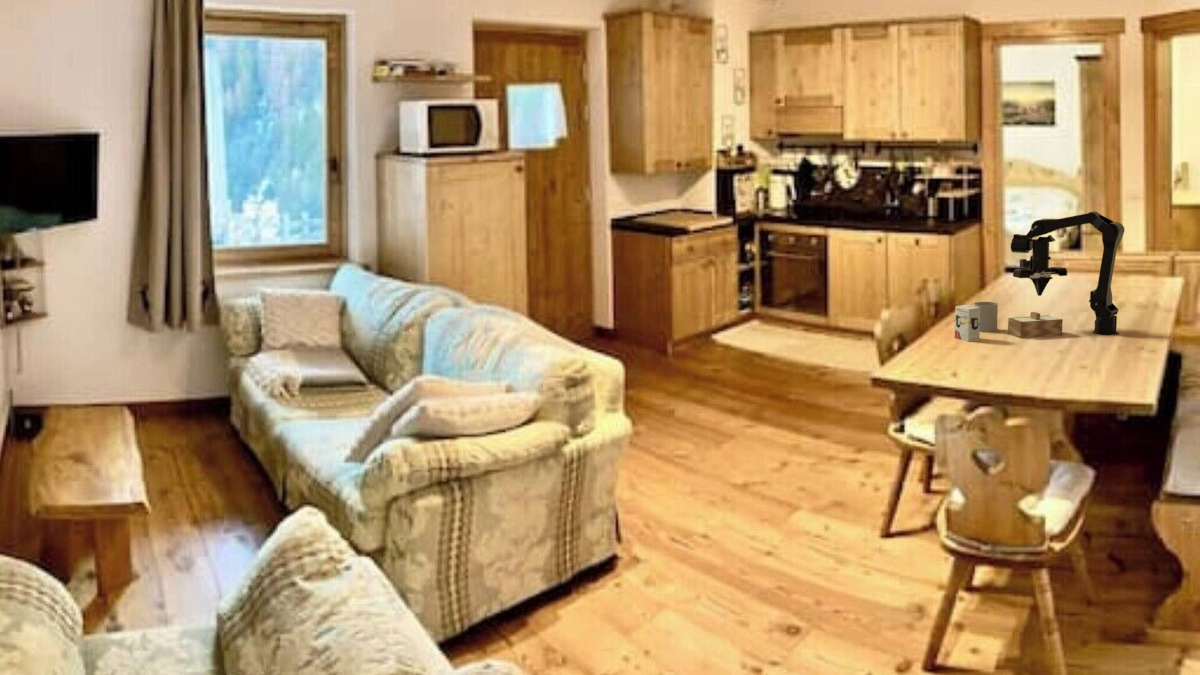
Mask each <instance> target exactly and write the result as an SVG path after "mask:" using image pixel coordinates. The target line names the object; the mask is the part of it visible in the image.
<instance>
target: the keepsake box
mask: <svg viewBox="0 0 1200 675" xmlns="http://www.w3.org/2000/svg"><path fill="white" fill-rule="evenodd" d="M1042 316H1043V315H1040V317H1042ZM1047 316H1051V315H1049V314H1048V315H1047ZM1027 317H1028V316H1022V317H1021V316H1020V317H1019V316H1018V317H1016V318H1027ZM1012 318H1013V317H1008V321H1007V322H1008V323H1007V334H1008V335H1010V336H1014V337H1015V338H1018V339H1026V338H1028V339H1029V338H1038V337H1039V338H1042V337H1055V336H1056V337H1057V336H1063V318H1059V319H1056V320H1040V321H1025V322H1022V321H1019V320H1015V319H1012Z"/></svg>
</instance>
